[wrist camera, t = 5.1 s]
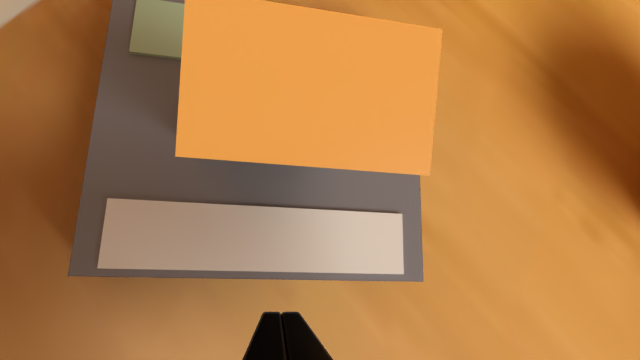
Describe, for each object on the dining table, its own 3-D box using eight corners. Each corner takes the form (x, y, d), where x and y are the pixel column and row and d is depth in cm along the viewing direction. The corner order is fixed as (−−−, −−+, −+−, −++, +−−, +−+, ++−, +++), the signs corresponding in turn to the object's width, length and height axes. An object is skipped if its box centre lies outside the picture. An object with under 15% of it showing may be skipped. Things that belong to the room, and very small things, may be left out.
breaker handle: (314, 165, 17) (429, 175, 6) (219, 158, 16) (174, 156, 5) (318, 111, 17) (442, 29, 6) (223, 101, 16) (185, -13, 5)
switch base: (395, 278, 19) (447, 284, 15) (97, 273, 17) (40, 278, 12) (391, 65, 22) (434, 11, 17) (132, 30, 19) (98, -46, 15)
